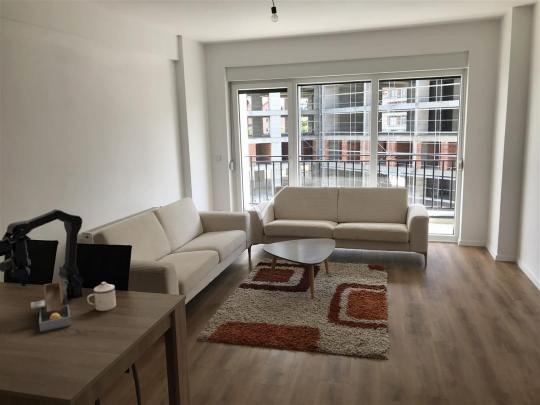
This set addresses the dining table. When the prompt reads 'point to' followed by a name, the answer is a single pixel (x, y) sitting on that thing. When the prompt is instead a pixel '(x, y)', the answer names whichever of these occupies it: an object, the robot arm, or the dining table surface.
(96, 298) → the teacup with lid
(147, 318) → the dining table surface
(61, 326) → the bin
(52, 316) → the ball
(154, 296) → the dining table surface
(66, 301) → the stand
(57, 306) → the chute
